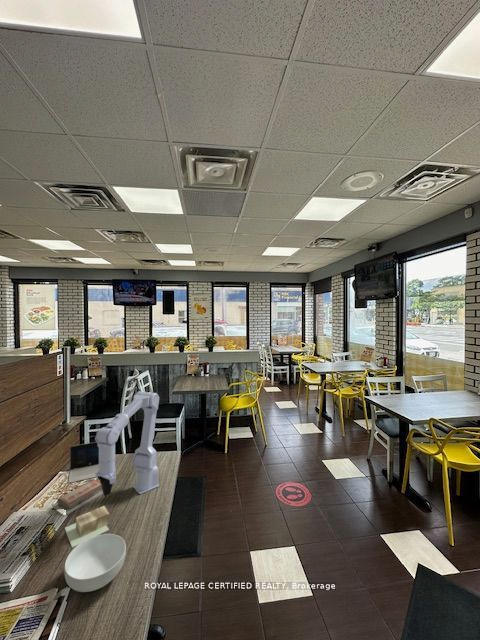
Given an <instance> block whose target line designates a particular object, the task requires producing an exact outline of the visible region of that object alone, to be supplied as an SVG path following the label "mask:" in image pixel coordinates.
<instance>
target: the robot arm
mask: <svg viewBox="0 0 480 640" xmlns="http://www.w3.org/2000/svg"><path fill="white" fill-rule="evenodd" d="M159 404H160V396H159V394H158V393H156V392H148V391H141V390H138V391H136V393H135V394H134V395H133V397H132V401H131V403H130V404H129V405H128V406H127V407H126V408H125V410H124V411H123V412H121V413H118V414H116V415H115V416H114V418H113V419H111V421H110V422H108V424H106V426H103V427H101V428H99V430H98V431H97V433H95V434H96V435H95V437H94V441H95V442H97V444H98V447H99V464H98V465H99V471H98V472H97V473H95V475H96V476H97V477H96V478H97V479H98V481H99V482H100V483H101V486H102V490H103V494H102V495H103V496H104V497H106V496H109V495H111V491H112V487H113V484H115V483H117V475H116V443H117V442H118V439H119V437H120V435H121V432H122V431H123V430H124V429H125V428H126V426H127V425H128V424H129V422H130V421H129V419H130V418H131V417H132V416H133V415H134V414H136V412H137V411H138V410H140V409H142V410H143V411H144V417H143V425H142V431H141V440H140V445H139V447H138V448H136V449H135V450H134V454H133V457H132V461H131V463H132V466H133V467H134V470H135V471H136V478H135V479H136V480H135V481H136V483H135V484H133V485H132V488H134V490H135V491H136V492H137V493H138V494H139V495H141V494H144V493H146V492H149V491H152V490H154V489H157V488H159V486H160V484H159V468H158V466H157V460H158V459H157V450H156V449H155V448H154V447H153V442H154V441H153V439H154V434H155V433H154V432H155V426H156V418H157V411H158V410H159Z"/></svg>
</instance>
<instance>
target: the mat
mask: <svg viewBox="0 0 480 640" xmlns="http://www.w3.org/2000/svg"><path fill="white" fill-rule="evenodd" d="M64 531H65V532H66V535H67V539H68V540H69V544H70V546H71V548H72V549H74V548H75V547H76V546H78V545H79V544H80V543H82V542H83V541H85V540H87V539H89V538H91V537H94V536H97V535H102V534H106V533H107V532H109V531H110V529H109V527H108V525H106V526H104V527H102V528H99V529H97V530H95V531H93V532H91V533H89V534H86V535H84V536H82V537H80V536H79V534H78V532H77V529H76V522H75V523H72V524H70V525H68V526H66V527H64Z"/></svg>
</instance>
